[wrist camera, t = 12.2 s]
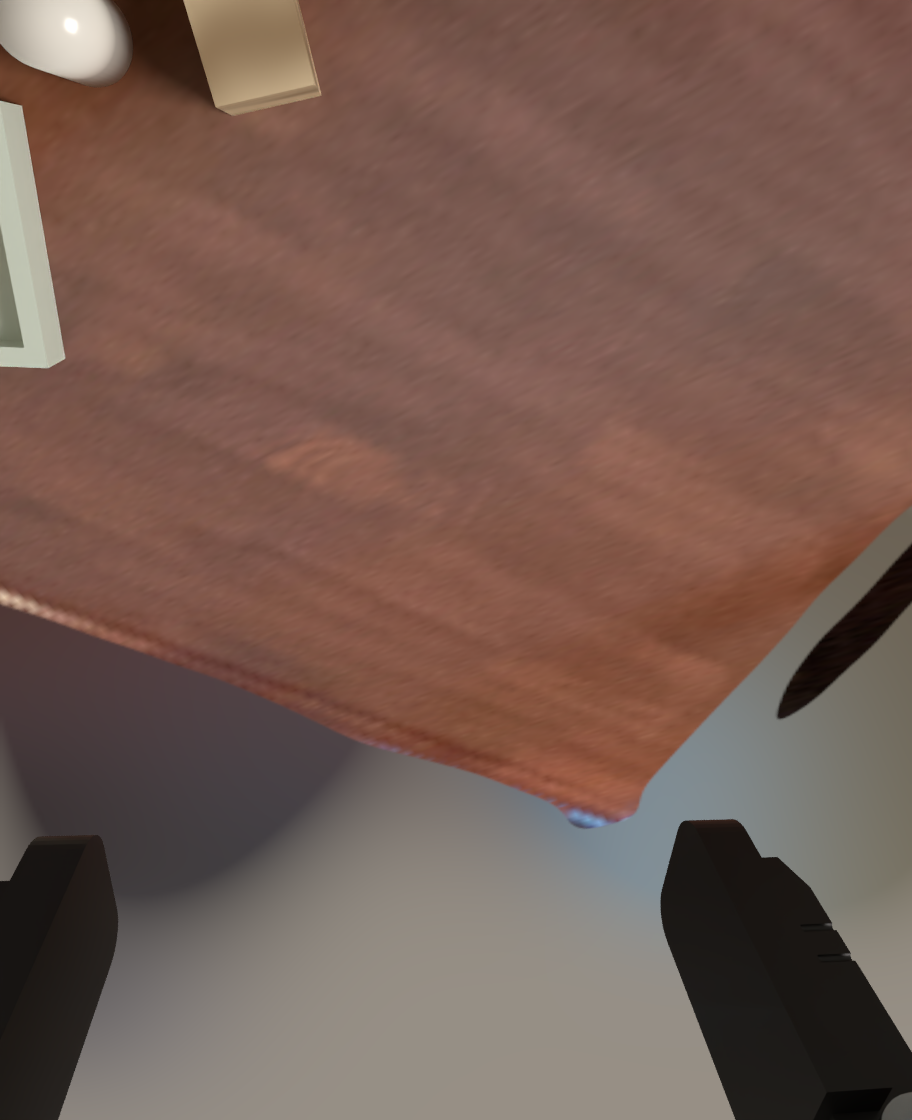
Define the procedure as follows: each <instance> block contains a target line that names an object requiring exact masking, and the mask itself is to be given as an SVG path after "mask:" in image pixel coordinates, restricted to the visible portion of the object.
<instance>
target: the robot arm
mask: <svg viewBox="0 0 912 1120" xmlns="http://www.w3.org/2000/svg"><path fill="white" fill-rule="evenodd" d="M661 918H662V924H663V929H664V933H665V936H666V939H667V942H668V945H669V947H670V950H671V952H672V955H673V958H674V960H675V963H676V966H677V968H678V970H679V973H680V976H681V979H682V981H683V984H684V986H685V989H686V991H687V994H688V997H689V999H690V1002H691V1004H692V1007H693V1010H694V1012H695V1015H696V1018H697V1020H698V1022H699V1025H700V1028H701V1030H702V1033H703V1036H704V1038H705V1041H706V1044H707V1046H708V1049H709V1051H710V1054H711V1057H712V1059H713V1062H714V1065H715V1067H716V1070H717V1073H718V1075H719V1078H720V1080H721V1083H722V1086H723V1088H724V1090H725V1093H726V1096H727V1098H728V1101H729V1104H730V1106H731V1109H732V1112H733V1114H734V1117H735V1119H736V1120H912V1052H911V1050H910V1049H909V1047H908V1046H907V1044H906V1042H905V1041H904V1039H903V1038H902V1036H901V1034H900V1032H899V1031H898V1029H897V1028H896V1026H895V1024H894V1023H893V1021H892V1019H891V1018H890V1016H889V1015H888V1013H887V1011H886V1010H885V1008H884V1007H883V1005H882V1003H881V1002H880V1000H879V998H878V997H877V995H876V993H875V992H874V990H873V989H872V987H871V985H870V984H869V982H868V980H867V979H866V977H865V976H864V974H863V973H862V971H861V969H860V968H859V966H858V964H857V963H856V961H852V959H851V957H850V954H851V953H850V951H849V950H848V948H847V946H846V945H845V943H844V942H843V940H842V938H841V937H840V935H839V933H838V932H837V930H833V928H832V922H831V920H830V919H829V917H828V916H827V914H826V913H825V911H824V909H823V908H822V906H821V905H820V903H819V901H818V899H817V898H816V896H815V894H814V893H813V891H812V890H811V888H810V887H809V886H808V885H807V884H806V883H805V882H804V881H803V880H802V879H801V878H799V877H798V876H797V875H796V874H795V873H794V872H793V871H792V870H791V869H790V868H789V867H788V866H786V865H785V864H784V863H783V862H782V861H781V860H780V859H779V858H778V857H768V858H761V856H760V854H759V852H758V851H757V849H756V847H755V845H754V844H753V842H752V840H751V838H750V837H749V835H748V833H747V831H746V830H745V828H744V827H743V826H742V824H741V823H739V822H738V821H737V820H733V819H731V820H730V819H728V820H696V821H694V820H693V821H683V822H682V823H681V824H680V826H679V829H678V832H677V835H676V839H675V843H674V847H673V850H672V854H671V858H670V861H669V865H668V869H667V873H666V876H665V880H664V884H663V888H662V892H661ZM117 932H118V912H117V906H116V901H115V896H114V892H113V887H112V882H111V877H110V872H109V867H108V863H107V858H106V853H105V848H104V844H103V841H102V839H101V837H100V836H98V835H78V836H45V837H44V836H42V837H37V838H36V839H34V840H33V841H32V842H31V843H30V845H29V846H28V848H27V849H26V851H25V853H24V855H23V857H22V859H21V861H20V862H19V864H18V866H17V868H16V870H15V872H14V874H13V876H12V878H11V880H10V881H0V1120H58V1118H59V1115H60V1112H61V1109H62V1106H63V1103H64V1100H65V1098H66V1095H67V1092H68V1089H69V1086H70V1083H71V1080H72V1077H73V1074H74V1071H75V1068H76V1065H77V1063H78V1059H79V1057H80V1053H81V1051H82V1048H83V1045H84V1042H85V1039H86V1036H87V1033H88V1030H89V1027H90V1024H91V1021H92V1019H93V1016H94V1013H95V1010H96V1007H97V1004H98V1001H99V998H100V995H101V992H102V989H103V986H104V983H105V981H106V978H107V975H108V972H109V969H110V966H111V963H112V960H113V956H114V952H115V947H116V941H117Z"/></svg>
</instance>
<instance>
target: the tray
mask: <svg viewBox="0 0 912 1120" xmlns="http://www.w3.org/2000/svg"><path fill="white" fill-rule="evenodd" d="M64 359H65V354H64V348H63V342H62V337H61V331H60V325H59V319H58V313H57V307H56V302H55V296H54V290H53V284H52V278H51V273H50V267H49V261H48V255H47V249H46V244H45V238H44V232H43V226H42V220H41V214H40V209H39V203H38V197H37V191H36V185H35V180H34V174H33V168H32V162H31V156H30V151H29V145H28V139H27V133H26V127H25V121H24V116H23V110H22V106H21V105H16V104H12V103H7V102H3V101H0V366H5V367H31V368H49V367H51V366H53V365H55V364H57V363H58V362H60V361H62V360H64Z"/></svg>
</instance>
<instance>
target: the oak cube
mask: <svg viewBox="0 0 912 1120" xmlns="http://www.w3.org/2000/svg"><path fill="white" fill-rule="evenodd" d="M183 1H184V4H185V7H186V11H187V14H188V17H189V21H190V24H191V27H192V30H193V34H194V37H195V40H196V44H197V47H198V50H199V54H200V57H201V60H202V64H203V67H204V70H205V74H206V77H207V80H208V83H209V87H210V90H211V93H212V97H213V100H214V103H215V107H216V108H218V109H220V110H222V111H224V112H226V113H228V114H230V115H232V116H235V115H239V114H244V113H248V112H252V111H257V110H261V109H265V108H270V107H274V106H278V105H283V104H287V103H291V102H296V101H300V100H305V99H309V98H313V97H318V96H321V91H320V87H319V83H318V79H317V75H316V71H315V67H314V63H313V59H312V55H311V50H310V46H309V42H308V38H307V34H306V30H305V26H304V22H303V18H302V14H301V9H300V5H299V1H298V0H183Z"/></svg>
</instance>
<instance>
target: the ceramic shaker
mask: <svg viewBox="0 0 912 1120" xmlns="http://www.w3.org/2000/svg"><path fill="white" fill-rule="evenodd" d="M0 44H1V45H2V46H3V47H4V48H5V50H6V51H8V52H9V53H10V54H11V55H12V56H13V57H15V58H16V59H17V60H19V61H21V62H22V63H24V64H26V65H28V66H31V67H33V68H36V69H39V70H42V71H45V72H48V73H51V74H54V75H57V76H59V77H62V78H65V79H68V80H71V81H74V82H77V83H80V84H83V85H86V86H89V87H106V86H109V85H112V84H114V83H116V82H117V81H119V80H120V79H121V78H122V77H123V76H124V75H125V73H126V72H127V70H128V68H129V66H130V63H131V60H132V55H133V39H132V34H131V30H130V27H129V24H128V22H127V20H126V18H125V16H124V14H123V12H122V11H121V9H120V8H119V7H118V5H117V4H116V3H115V2H114V1H113V0H0Z"/></svg>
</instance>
